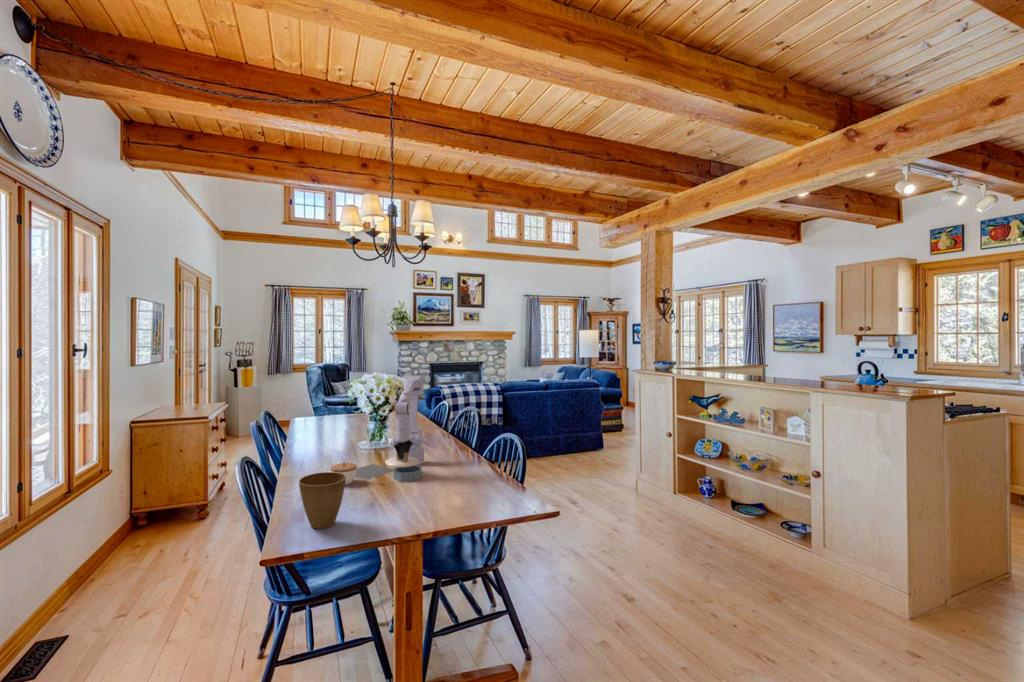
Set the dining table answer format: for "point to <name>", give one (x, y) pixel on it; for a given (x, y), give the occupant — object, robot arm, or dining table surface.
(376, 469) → the mat
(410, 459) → the cover
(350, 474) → the lidded jar
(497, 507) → the dining table surface
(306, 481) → the plant pot
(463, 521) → the dining table surface
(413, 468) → the bowl
